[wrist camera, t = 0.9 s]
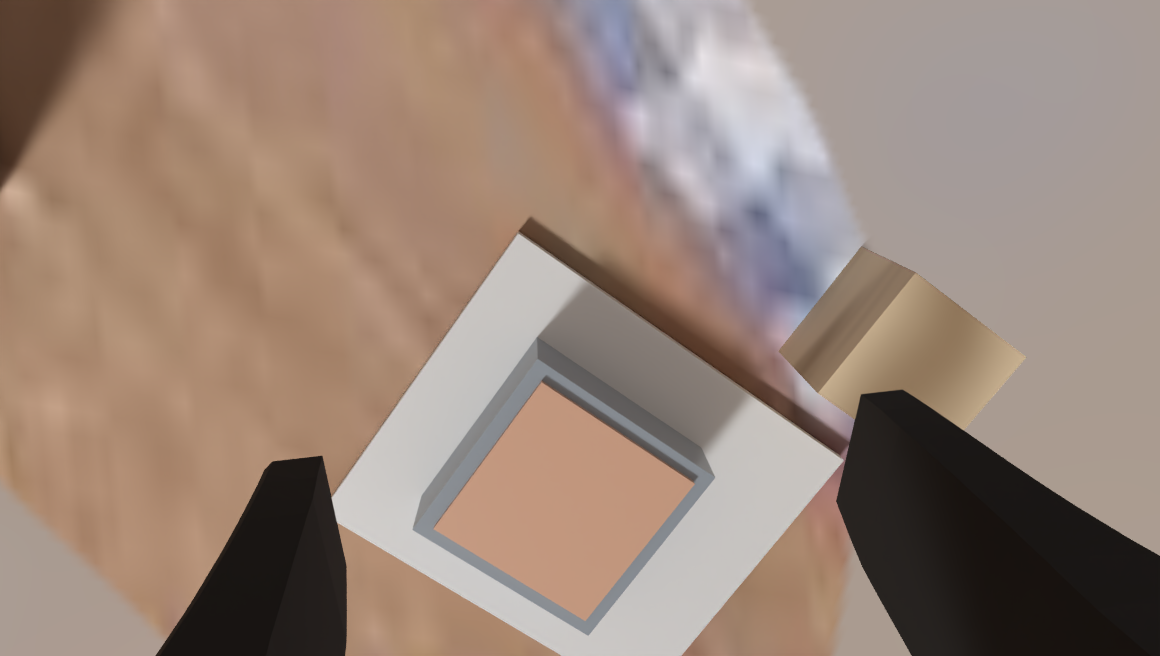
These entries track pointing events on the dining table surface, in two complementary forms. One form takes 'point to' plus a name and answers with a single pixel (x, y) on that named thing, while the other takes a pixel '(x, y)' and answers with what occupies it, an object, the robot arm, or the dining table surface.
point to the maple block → (898, 343)
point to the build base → (579, 468)
